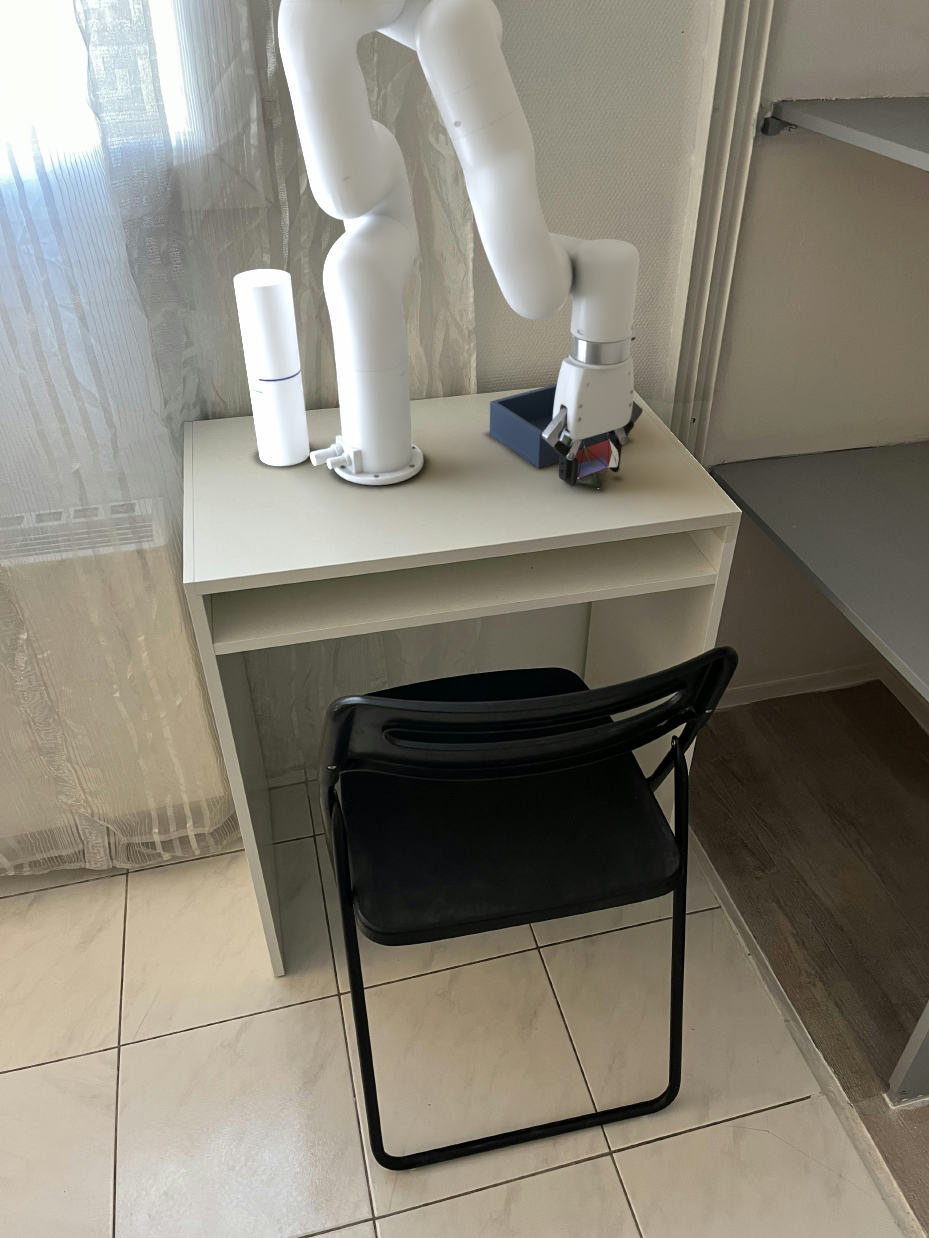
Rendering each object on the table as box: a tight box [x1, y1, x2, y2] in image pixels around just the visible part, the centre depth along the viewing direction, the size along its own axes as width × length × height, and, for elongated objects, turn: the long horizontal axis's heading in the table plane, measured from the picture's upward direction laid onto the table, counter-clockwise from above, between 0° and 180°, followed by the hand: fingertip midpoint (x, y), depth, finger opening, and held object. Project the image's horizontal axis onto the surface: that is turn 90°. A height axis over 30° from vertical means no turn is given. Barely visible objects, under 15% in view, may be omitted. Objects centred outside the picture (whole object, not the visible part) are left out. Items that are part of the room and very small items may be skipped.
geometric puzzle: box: [568, 436, 619, 490], centre depth 126 cm, size 7×7×8 cm
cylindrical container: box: [233, 268, 311, 467], centre depth 127 cm, size 7×7×25 cm
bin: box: [489, 383, 629, 469], centre depth 137 cm, size 16×13×5 cm
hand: (589, 473), depth 127 cm, fingers closed on geometric puzzle, 6 cm apart
